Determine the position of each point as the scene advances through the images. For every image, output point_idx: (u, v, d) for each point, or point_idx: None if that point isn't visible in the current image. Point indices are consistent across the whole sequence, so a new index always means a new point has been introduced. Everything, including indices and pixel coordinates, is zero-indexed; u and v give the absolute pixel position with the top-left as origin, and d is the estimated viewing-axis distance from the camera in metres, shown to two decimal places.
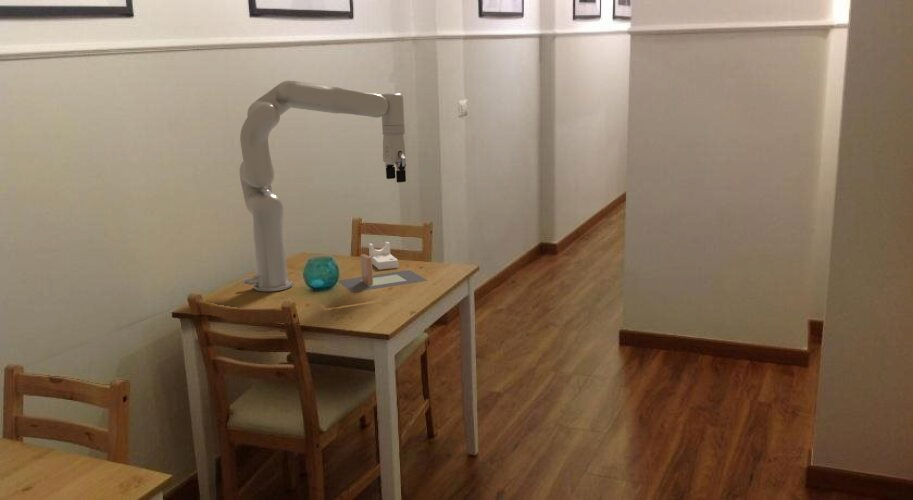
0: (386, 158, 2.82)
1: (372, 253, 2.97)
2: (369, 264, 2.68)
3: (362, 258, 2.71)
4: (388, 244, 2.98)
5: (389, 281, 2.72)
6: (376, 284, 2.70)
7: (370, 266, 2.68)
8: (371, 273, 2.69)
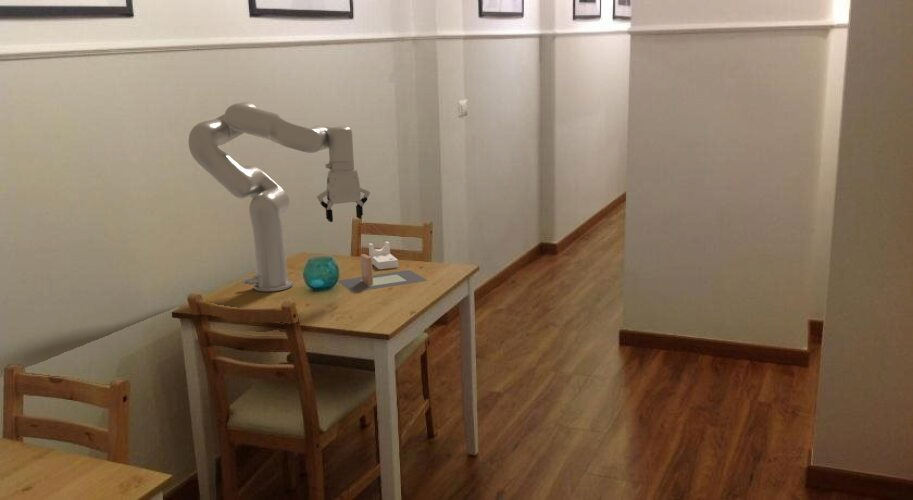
0: (344, 197, 2.60)
1: (372, 253, 2.97)
2: (369, 264, 2.68)
3: (362, 258, 2.71)
4: (388, 244, 2.98)
5: (389, 281, 2.72)
6: (376, 284, 2.70)
7: (370, 266, 2.68)
8: (371, 273, 2.69)
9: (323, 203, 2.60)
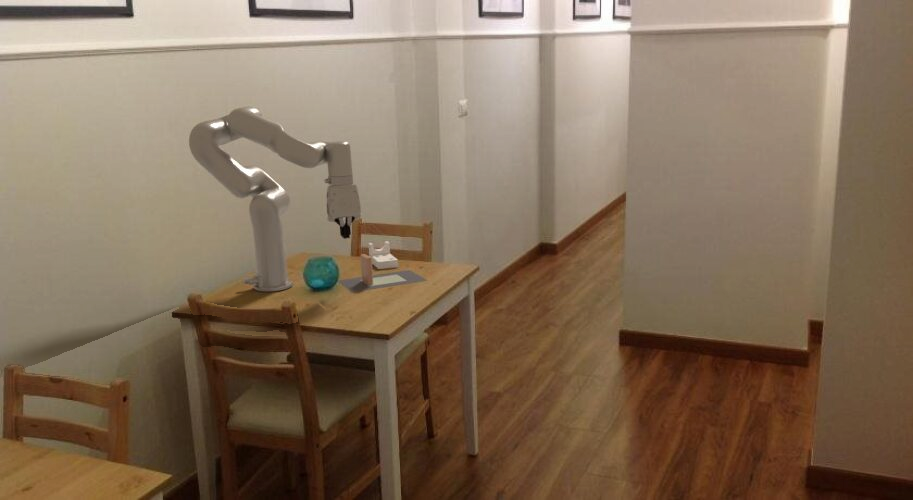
0: (344, 211, 2.60)
1: (372, 253, 2.97)
2: (369, 264, 2.68)
3: (362, 258, 2.71)
4: (388, 244, 2.99)
5: (389, 281, 2.72)
6: (376, 284, 2.70)
7: (370, 266, 2.68)
8: (371, 273, 2.69)
9: (337, 220, 2.62)
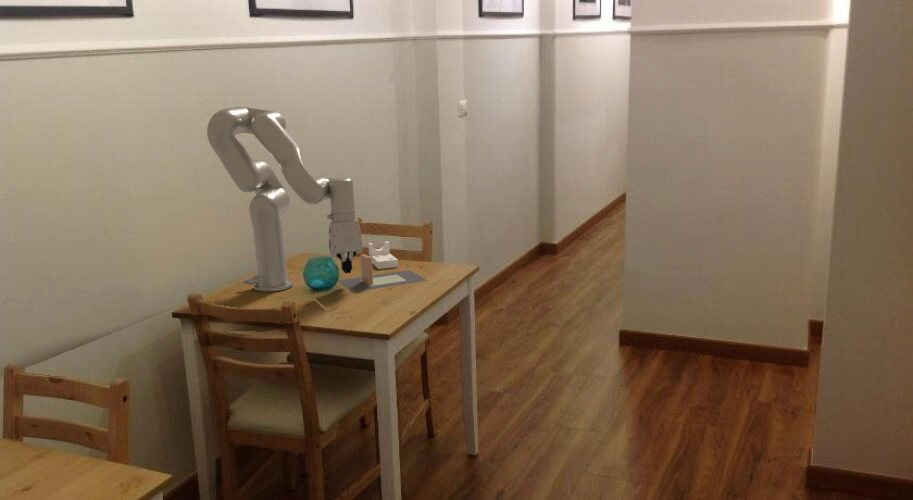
0: (346, 247, 2.63)
1: (372, 252, 2.98)
2: (369, 264, 2.68)
3: (362, 258, 2.71)
4: (388, 243, 2.99)
5: (389, 281, 2.72)
6: (376, 284, 2.70)
7: (370, 266, 2.68)
8: (371, 273, 2.69)
9: (339, 255, 2.65)
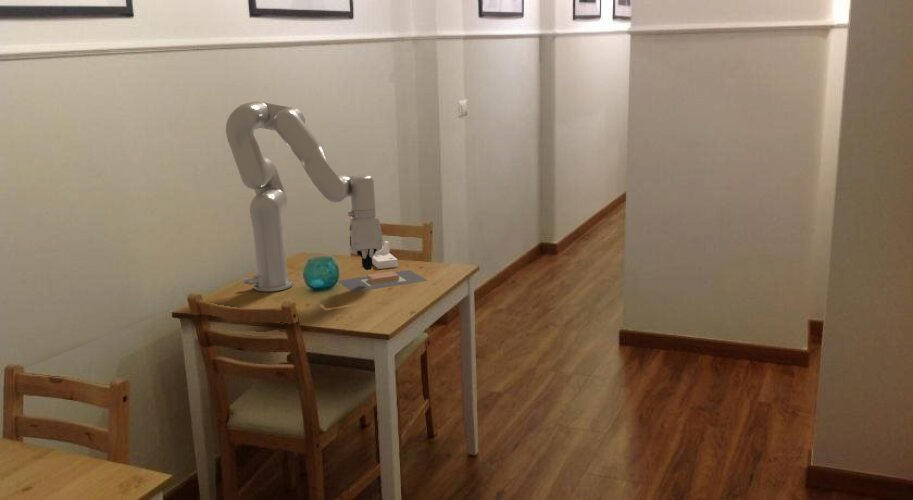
0: (366, 244, 2.66)
1: None
2: (393, 278, 2.72)
3: (390, 272, 2.76)
4: (387, 243, 2.99)
5: None
6: (376, 284, 2.70)
7: (391, 279, 2.72)
8: (384, 281, 2.71)
9: (359, 252, 2.68)
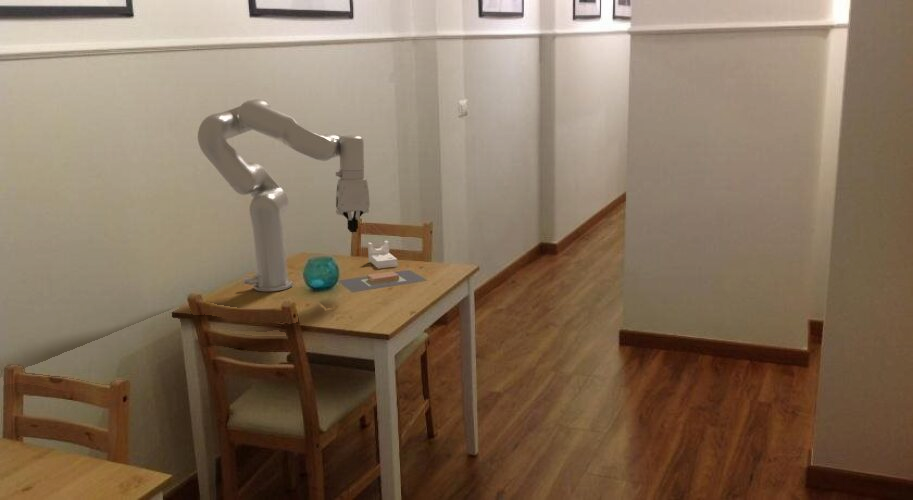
0: (353, 205, 2.62)
1: (371, 252, 2.98)
2: (393, 278, 2.72)
3: (390, 272, 2.76)
4: (387, 243, 3.00)
5: None
6: (376, 284, 2.70)
7: (391, 279, 2.72)
8: (384, 281, 2.71)
9: (345, 214, 2.63)
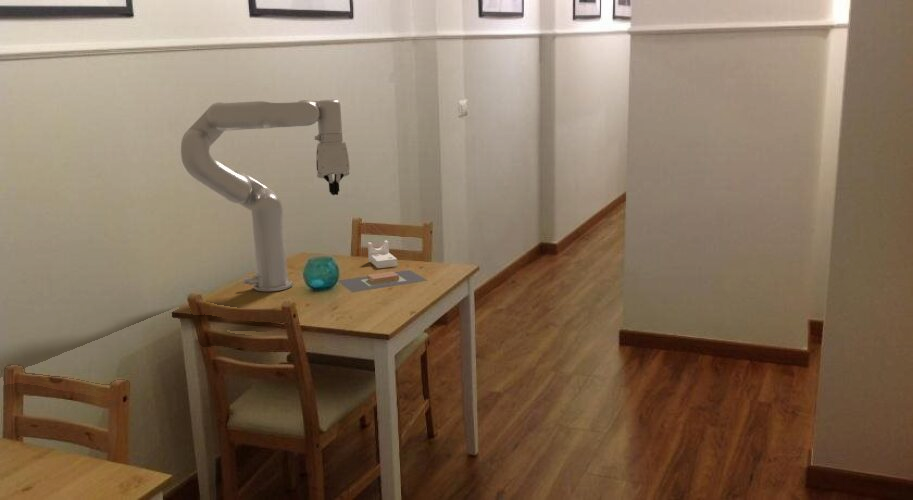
0: (333, 168, 2.68)
1: (371, 252, 2.99)
2: (393, 278, 2.72)
3: (390, 272, 2.76)
4: (387, 243, 3.00)
5: None
6: (376, 284, 2.70)
7: (391, 279, 2.72)
8: (384, 281, 2.71)
9: (326, 177, 2.69)
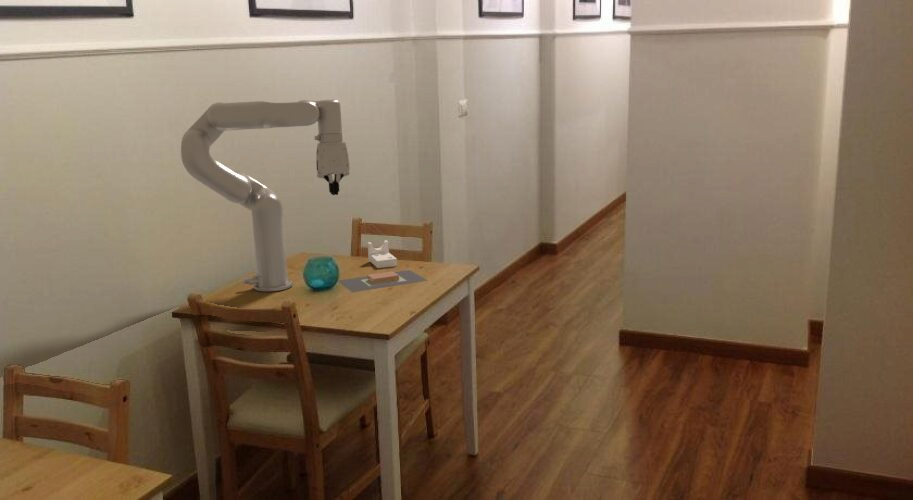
0: (333, 168, 2.68)
1: (371, 252, 2.99)
2: (393, 278, 2.72)
3: (390, 272, 2.76)
4: (387, 243, 3.00)
5: None
6: (376, 284, 2.70)
7: (391, 279, 2.72)
8: (384, 281, 2.71)
9: (326, 177, 2.69)
